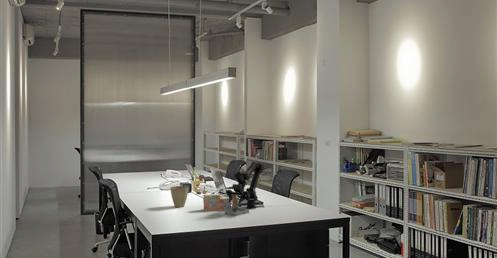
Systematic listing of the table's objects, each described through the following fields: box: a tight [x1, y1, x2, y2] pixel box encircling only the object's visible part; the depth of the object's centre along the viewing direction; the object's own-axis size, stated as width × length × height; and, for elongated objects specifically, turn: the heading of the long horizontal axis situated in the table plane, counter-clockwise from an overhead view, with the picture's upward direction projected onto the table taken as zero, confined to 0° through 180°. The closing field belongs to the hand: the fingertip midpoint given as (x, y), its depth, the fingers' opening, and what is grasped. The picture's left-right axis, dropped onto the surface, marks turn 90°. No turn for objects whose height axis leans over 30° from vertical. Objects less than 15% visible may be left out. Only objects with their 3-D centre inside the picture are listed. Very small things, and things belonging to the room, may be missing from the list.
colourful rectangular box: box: [202, 193, 232, 212], centre depth 382 cm, size 21×6×12 cm, turn 103°
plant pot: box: [170, 185, 189, 208], centre depth 395 cm, size 15×15×16 cm
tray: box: [224, 207, 250, 217], centre depth 367 cm, size 14×12×2 cm
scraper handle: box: [231, 195, 239, 212], centre depth 365 cm, size 6×6×14 cm
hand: (234, 202), depth 363 cm, fingers open, 8 cm apart
